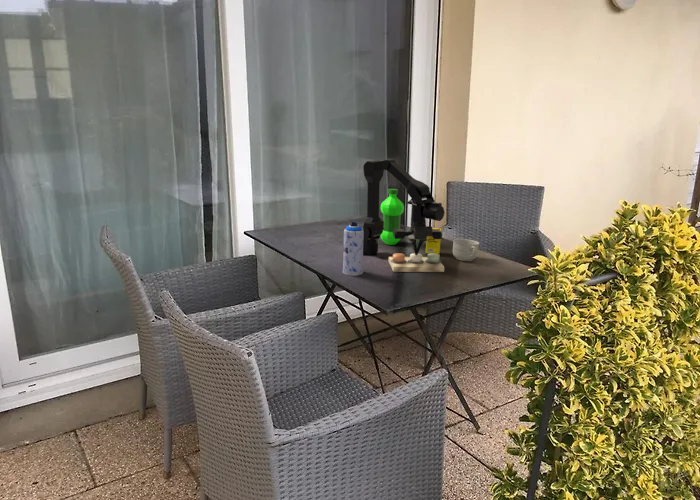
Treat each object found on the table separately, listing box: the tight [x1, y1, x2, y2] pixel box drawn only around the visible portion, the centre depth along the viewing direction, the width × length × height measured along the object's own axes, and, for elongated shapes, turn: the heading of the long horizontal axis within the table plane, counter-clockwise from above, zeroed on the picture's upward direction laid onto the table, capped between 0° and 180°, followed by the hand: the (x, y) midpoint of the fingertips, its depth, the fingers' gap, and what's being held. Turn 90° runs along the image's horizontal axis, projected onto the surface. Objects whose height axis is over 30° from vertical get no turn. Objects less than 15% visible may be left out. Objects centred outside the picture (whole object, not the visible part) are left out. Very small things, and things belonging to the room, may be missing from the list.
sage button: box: [426, 253, 440, 262], centre depth 241 cm, size 5×5×2 cm
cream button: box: [409, 253, 423, 262], centre depth 240 cm, size 5×5×2 cm
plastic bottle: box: [380, 188, 405, 246], centre depth 272 cm, size 10×10×25 cm
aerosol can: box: [342, 220, 364, 277], centre depth 229 cm, size 8×8×20 cm
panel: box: [388, 256, 445, 273], centre depth 241 cm, size 20×14×2 cm
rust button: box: [392, 252, 406, 262], centre depth 240 cm, size 5×5×2 cm
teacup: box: [452, 238, 480, 262], centre depth 251 cm, size 14×11×8 cm
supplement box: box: [425, 227, 442, 256], centre depth 259 cm, size 6×6×11 cm
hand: (416, 254), depth 240 cm, fingers closed
